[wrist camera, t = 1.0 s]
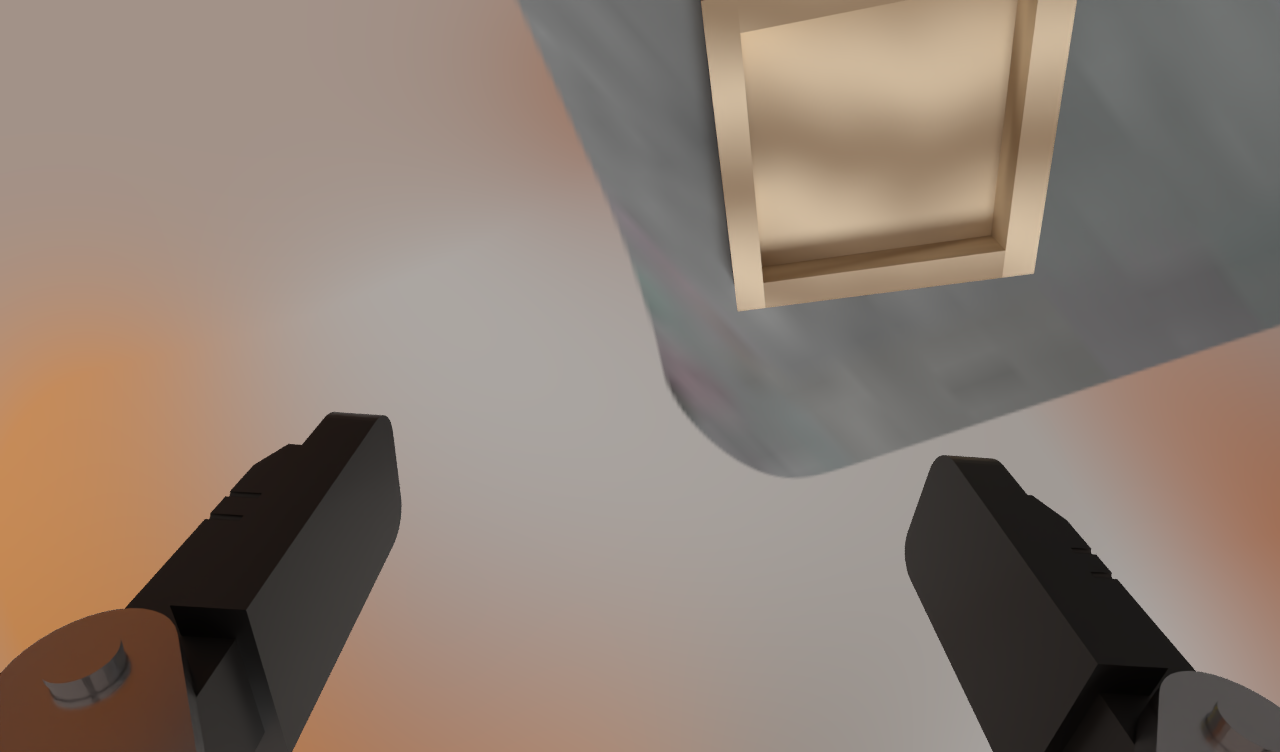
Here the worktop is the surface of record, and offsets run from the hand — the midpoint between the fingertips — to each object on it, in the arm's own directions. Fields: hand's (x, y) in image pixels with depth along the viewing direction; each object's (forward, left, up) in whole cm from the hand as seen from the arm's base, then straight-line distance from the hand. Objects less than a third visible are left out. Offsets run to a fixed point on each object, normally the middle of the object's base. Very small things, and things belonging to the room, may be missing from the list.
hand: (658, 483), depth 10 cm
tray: (+1, +7, -21) cm, 22 cm away
